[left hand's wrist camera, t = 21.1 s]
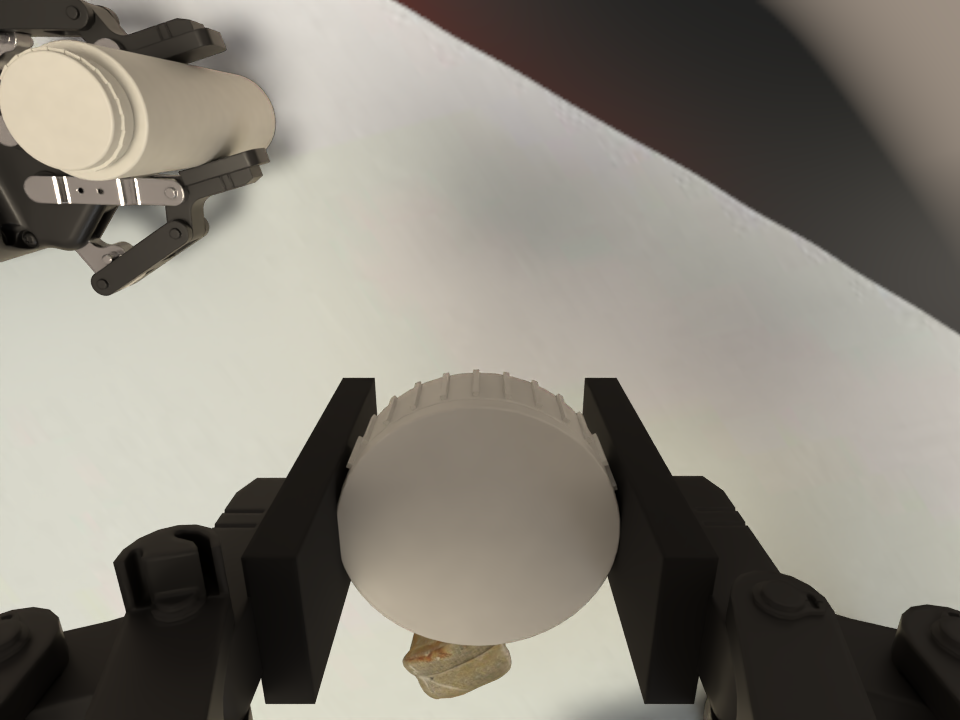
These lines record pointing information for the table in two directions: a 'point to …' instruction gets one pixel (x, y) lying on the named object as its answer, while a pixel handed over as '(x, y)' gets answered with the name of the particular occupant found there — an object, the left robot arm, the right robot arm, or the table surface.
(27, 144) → the jar
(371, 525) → the lid
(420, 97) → the table surface
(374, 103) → the table surface
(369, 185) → the table surface
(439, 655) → the sculpture
